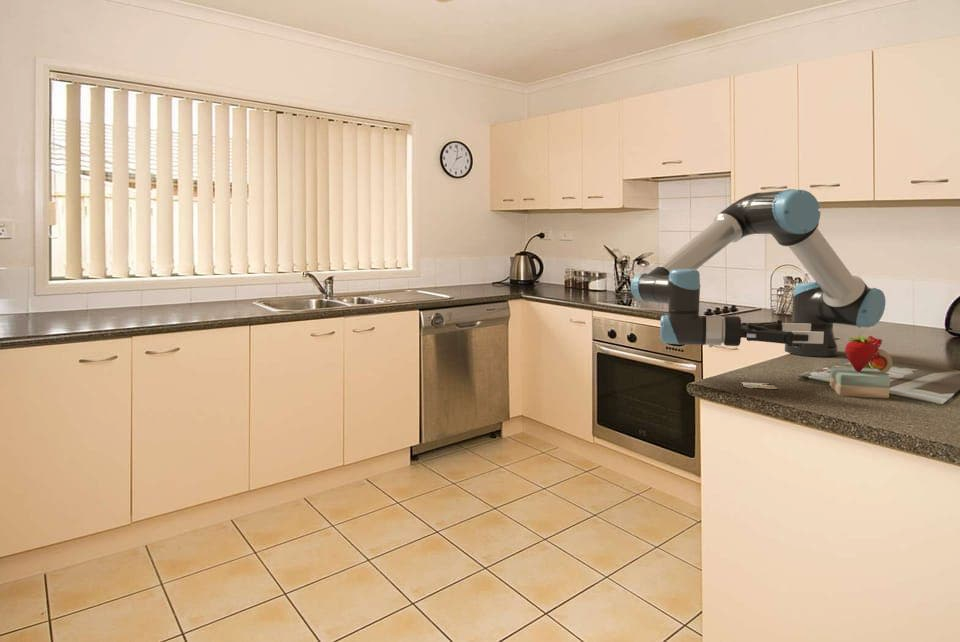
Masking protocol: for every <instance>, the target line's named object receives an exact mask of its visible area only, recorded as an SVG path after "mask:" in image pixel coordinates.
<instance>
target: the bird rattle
mask: <svg viewBox="0 0 960 642" xmlns="http://www.w3.org/2000/svg"><path fill="white" fill-rule="evenodd" d="M867 338H868V339H870V340H872V341H868V342H871V343H873V344H874V345H875V353H874V356H873V358H872V359H871V360H870V361H869V363H870V364H869V363H868V364H867V365H866V366H865V367H864V368H875V369H878V370H880V371H881V372H883V373H884V374H887V373H888V372H889V371H890V370H891V368H892V367H893V358H892V356H891V355H890V353H888V352H887V351H886V350H884V349H880V348H881V345H882V344H883V340H882V339H881V338H876V337H874V336H872V335H869V336H868V337H867ZM850 365H851V367H853V366H852V364H851V363H850Z"/></svg>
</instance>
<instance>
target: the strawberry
mask: <svg viewBox="0 0 960 642" xmlns="http://www.w3.org/2000/svg"><path fill="white" fill-rule="evenodd" d="M864 332H865V330H863V331H862V332H861V334H863V333H864ZM847 341H848V342H847V344H846V345H845V348H844V351H845V354H846V355H845V356H846V358H847V359H848V361H849V363H850V365H851V364H852V365H851V367H852V366H853V367H854V369H855V370H856V371H861V370H862V369H863V368H864V367H865V366H866V365H867V364H868V363H870V361H871V359H872V358H873V357H874V353H875V345H874V344H873V343H871V342H868V341H872V340H870V339H868V337H860V336H858V337H849V339H847Z"/></svg>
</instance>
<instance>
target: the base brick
mask: <svg viewBox="0 0 960 642" xmlns="http://www.w3.org/2000/svg"><path fill="white" fill-rule="evenodd" d="M829 375H830V377H829V387H830V386H831V387H830V388H831V389H832V390H833V391H835V392H836V394H838V395H839V396H841V397H842V396H843V397H857V398H858V397H859V398H872V399H873V398H876V399H889V397H890V386H891V376H889V375H887V373H885V374H884V373H883V372H881V371H880V370H878V369H875V368H873V367H871V368H863V369H862V370H861V371H856V370H855V369H854V367H852V366H851V367H848V366H830V374H829Z"/></svg>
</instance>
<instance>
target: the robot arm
mask: <svg viewBox="0 0 960 642" xmlns="http://www.w3.org/2000/svg"><path fill="white" fill-rule="evenodd" d="M820 208H821V207H820V203H819V201H818V200H817V198H816V196H814V195H813V194H812V193H811V191H810V192H809V191H807V190H804V189H795V188H793V189H791V188H790V189H785V190H777V191H776V190H775V191H764V192H754V193H751V194H749V195H748V194H747V195H746V196H744V197H741V198H740V199H738V200H736V201H735V202H733V203H731V204H730V205H729V206H727V207H726V208H725V209H723V210H722V211H720V212H719V213H717V215H716V216H715V217H714V218H713V222H712V223H710V225H708V226H707V227H706V228H705V229H704V230H702V231H701V232H699V233H698V234H697V235H696V236H694V237H693V238H692V239H691V240H689V241H688V242H687V243H686V244H684V245H682V247H680V248H679V249H678V250H677V251H675V252H674V253H673V254H671V255H670V256H669V257H668V258H667V259H665V260H663V262H661V263H660V264H659V265H658V266H656V267H655V268H654V269H652V270H651V271H650V272H648V273H646V272H644V273H639V274H636V275H635V276H634V277H633V278H632V280H631V282H630V292H631V295H632V296H633V297H634V298H635V300H639V301H643V302H646V303H647V302H649V303H658V304H664V305H668V307H667V308H668V312H667V314H664V315H661V316H660V327H659V328H660V329H659V330H660V333H659V335H660V336H659V337H660V339H659V340H660V341H661V342H662V343H663V344H671V345H678V346H680V345H686V346H687V345H688V346H689V345H690V346H692V345H693V346H695V345H696V346H699V345H700V346H708V347H709V348H713V347H714V346H721V345H722V344H723V345H724V346H726V347H739V346H740V345H741V342H742V339H743V338H744V339H746V341H748V342H762V343H775V344H781V345H782V344H784V352H786V353H788V354H793V355H797V356H798V355H799V356H806V357H823V358H824V357H835V356H837V355H838V349H839V348H838V344H837V341H836V338H835V334H834V333H835V332H834V324H836V325H843V326H844V325H845V326H851V327H858V328H871V327H874V326H875V325H877V324H878V323H879V322H880V320H881V318H882V317H883V316H884V313H885V309H886V301H887V300H886V296H885V293H884V291H883V290H881V289H879V288H876V287H872V288H871V287H869V286H868V285H867V284H866V283H865V281H864V280H863V279H862V278H861V277H860V276H856V275H852V273H851V272H850V270H849V269H848V268H847V267H846V265H845V264H844V262H843V261H842V260H841V258H840V257H839V255H838V254H837V253H836V251H835V250H834V248H832V246H831V245H830V243H829V242H828V240H827V239H826V238H825V237H824V235H823V233H821V231H820V230H819V226H820V219H821V210H819V209H820ZM757 234H758V235H760V234H761V235H767V234H768V235H771V237H773V238H774V239H775V241H776V242H777V244H778V245H780V246H782V247H788V248H789V249H790V250H791V252H792V254H794V256H795V257H796V258H797V260H799V262H800V263H801V265H802V266H803V267H804V269H805V270H806V271H807V272H808V273H809V275H810V276H811V277H812V279H813V280H814V281H812V282H811V281H810V282H800V283H797V284H796V285H795V286H794V289H793V295H792V298H793V299H792V320H791V322H783V321H782V319H778V320H777V321H771V322H770V321H766V322H742V320H741V317H740V316H736V315H735V316H731V315H730V316H729V315H728V316H727V315H726V316H724V317H723V316H722V315H700V300H701V299H700V295H701V294H700V293H701V281H700V280H701V278H700V275H701V274H700V271H699V270H698V269H699V268H700V267H703V265H705V263H707V262H708V261H709V260H711V258H714V256H715V255H717V254H718V253H720V252H721V251H722V250H723V249H724V248H726V247H727V246H728V245H729V244H730V243H737V242H738V241H741V239H743V238H744V237H747V236H750V235H757Z"/></svg>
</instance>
